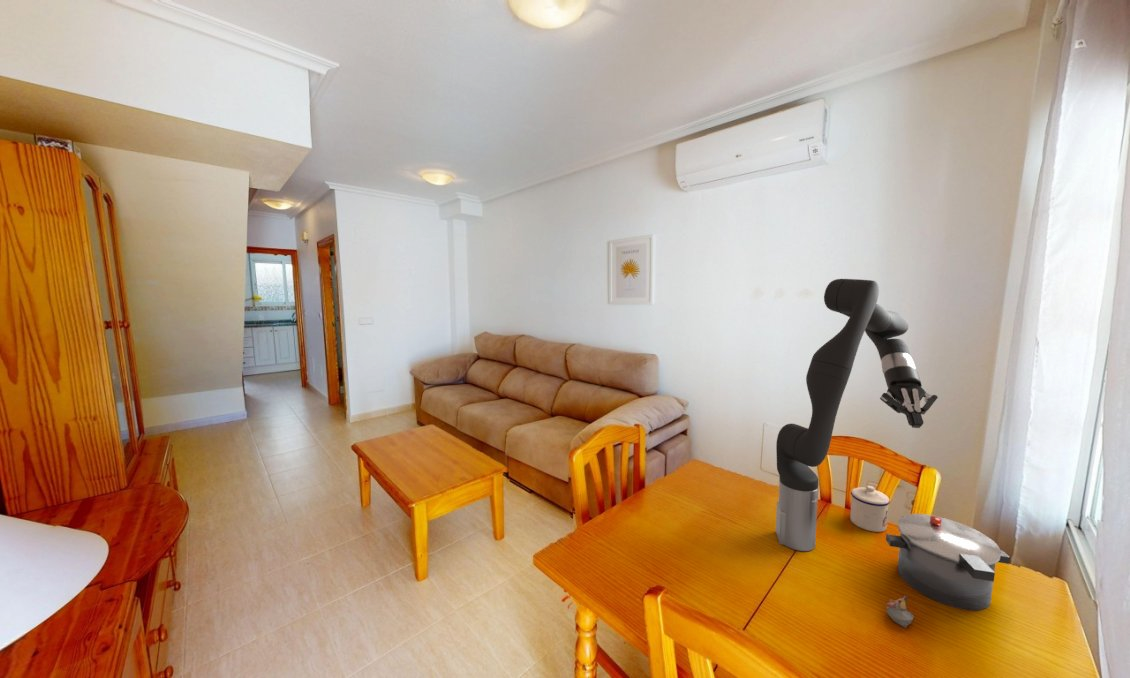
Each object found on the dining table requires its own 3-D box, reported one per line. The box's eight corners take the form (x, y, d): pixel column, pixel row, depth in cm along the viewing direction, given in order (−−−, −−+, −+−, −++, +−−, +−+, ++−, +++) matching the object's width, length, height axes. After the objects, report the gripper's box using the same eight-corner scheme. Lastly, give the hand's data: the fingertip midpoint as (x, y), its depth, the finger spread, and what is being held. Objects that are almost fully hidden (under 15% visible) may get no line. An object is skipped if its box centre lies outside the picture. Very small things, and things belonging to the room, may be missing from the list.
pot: (900, 598, 90) (904, 553, 88) (870, 549, 106) (873, 511, 105) (1028, 621, 83) (1035, 573, 81) (975, 565, 99) (979, 524, 98)
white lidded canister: (891, 536, 111) (894, 497, 110) (852, 528, 115) (855, 491, 114) (880, 513, 122) (882, 478, 120) (844, 507, 126) (846, 473, 124)
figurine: (908, 633, 81) (911, 604, 81) (882, 619, 84) (884, 592, 84) (916, 623, 84) (918, 595, 84) (890, 610, 88) (892, 584, 87)
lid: (885, 513, 103) (886, 504, 103) (969, 524, 98) (970, 514, 97) (930, 571, 83) (931, 560, 82) (1040, 589, 77) (1041, 577, 77)
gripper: (876, 364, 115) (891, 418, 105) (933, 365, 110) (955, 422, 100) (868, 377, 120) (882, 430, 111) (922, 379, 116) (942, 434, 106)
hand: (917, 426), depth 106 cm, fingers closed
